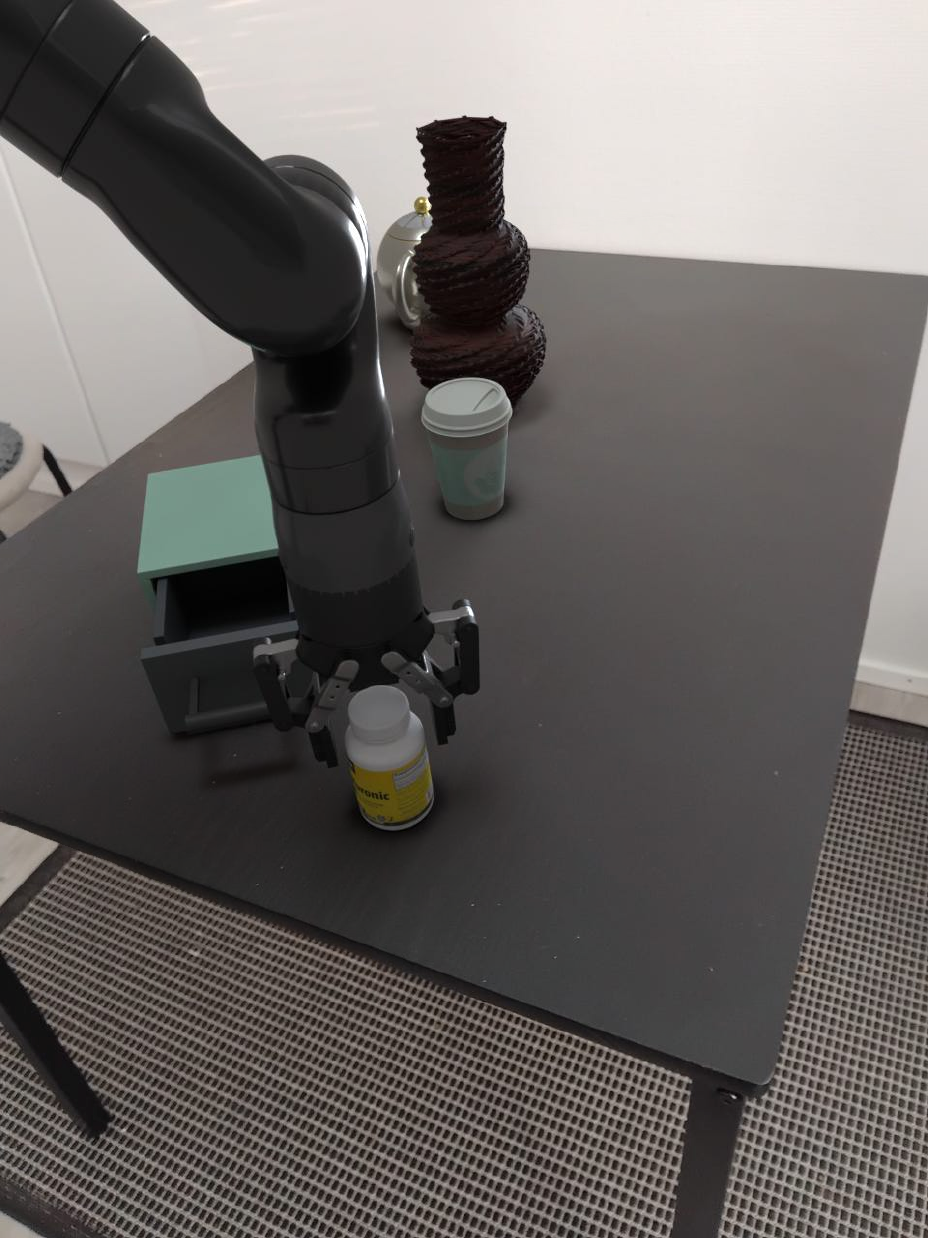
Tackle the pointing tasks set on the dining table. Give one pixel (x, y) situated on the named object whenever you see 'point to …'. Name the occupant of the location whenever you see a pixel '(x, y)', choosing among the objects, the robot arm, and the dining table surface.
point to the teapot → (404, 263)
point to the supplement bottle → (388, 759)
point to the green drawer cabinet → (204, 520)
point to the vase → (472, 265)
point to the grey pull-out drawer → (218, 644)
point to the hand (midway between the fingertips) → (386, 746)
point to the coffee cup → (469, 444)
